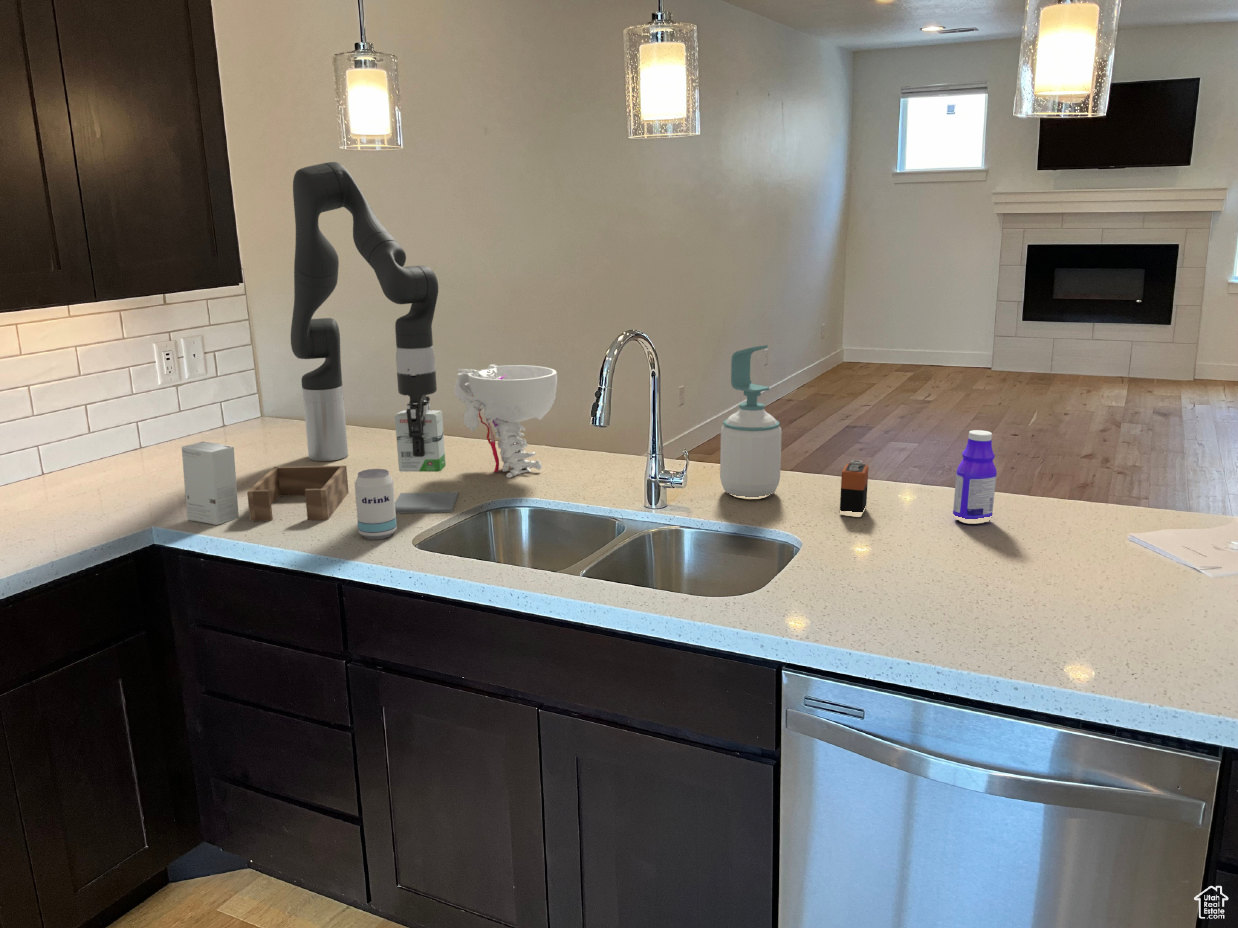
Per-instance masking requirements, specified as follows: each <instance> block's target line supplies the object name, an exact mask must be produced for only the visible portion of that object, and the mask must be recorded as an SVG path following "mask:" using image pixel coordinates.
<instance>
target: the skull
mask: <svg viewBox="0 0 1238 928" xmlns="http://www.w3.org/2000/svg"><path fill="white" fill-rule="evenodd" d="M457 372H458V373H456V377H457V378H456V381H455V383H454V388H453V389H454V390H453V391H454V396H455V397H456V398H458V400H459V401H460V402H461V403H463V404H465V408H466V409H465V412H464V413H463V423H464V426H466V427H468V428H469V430H470V432H474V431H476V430H477V429H478V427H479V425H480V423H481V424H482V425H484V426H485V427H486V428H487V433H486V440H487V442H488V444H489V445H490V447H491V450H492V451H491V452H492V455H493V459H494V462H495V467H494V473H495V472H499V469H500V459H501V462H502V463H503V464H502V472H503V473H506V472H507V471H508V473H507V474H506V475H505V476H506V478H512V477H517V476H519V475H520V474H522V473H523V474H524V473H528V472H529V473H531V472H532V470H531V468H533V469H536V470H539V471H541V470H542V469H543V466H542V463H541V462H540V460H539V459H536V460H535V461H534V460H527V459H529V458H531V457H535V456H536V452H535V451H532V452H526V450H525V449H526V448H527V447H528V446H529V445H528V444H529V443H527V439H526V438H522V437H523V436H524V437H525V433H524V432H525V431H526V428H525V426H524V425H522V424H521V423H520V422H524V421H528V420H530V419H537V420H540V421H541V420H542V419H543V418H544V417H545V416H546V415H547V413H548V412H549V411H550V410H551V408H552V406H554V402H555V399H556V397H557V396H556V395H557V387H558V372H557V370H555V369H553V368H550V367H546V366H539V365H538V366H537V365H517V364H515V365H514V364H513V365H497V364H489V365H488V367H487V368H485V369H478V370H476V369H474V368H464V369H463V368H457ZM481 411H483V415H484V418H485V420H486V423H485V422H484V421H483V417H482V416H481ZM478 419H480V423H479V420H478ZM490 422H491V423H492V424H493V427H492V426H491V423H490ZM492 428H493V429H492ZM493 431H494V433H495V435H494V433H493ZM521 431H523V432H521ZM496 439H499V440H498V441H497V447H498V449H500V451H499V455H500V458H499V456H498V450H497V447H496Z"/></svg>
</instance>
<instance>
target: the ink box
mask: <svg viewBox="0 0 1238 928" xmlns="http://www.w3.org/2000/svg"><path fill="white" fill-rule="evenodd" d="M406 411H407V409H406V410H405V409H404V410H401V411H399V412H397V413H396V414H394V424H395V436H396V449H397V461H398V462H397V463H398V471H399V472H400V473H401V472H410V473H411V472H419V473H420V472H427V473H428V472H433V473H434V472H438V473H439V472H442V471H443V469H444V468H446V451H445V449H446V448H445V439H444V438H445V435H444V421H443V411H442V410H441V409H440V410H433V409H432V410H431V409H430V410H429V411H428V412H427V413H426V414H423V415H425V416H426V426H425V427H424V434H425V436H424V447H425V455H424V456H423V457H415V456H414V455H413V443H412V438H411V437H409V429H408V419H407V413H406ZM423 415H422V418H421V422H422V421H423ZM414 431H419V428H418V427H414Z"/></svg>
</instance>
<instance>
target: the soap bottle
mask: <svg viewBox="0 0 1238 928" xmlns="http://www.w3.org/2000/svg"><path fill="white" fill-rule="evenodd" d="M768 348H769V346H768V344H766V345H758V346H752V347H748V348H744V349H741V350H738V351H735V352H733V354H732V356H731V367H730V371H731V372H730V375H731V376H730V377H731V378H730V383H731V386H732V388H733V389H734V390H736V391H737V390H738V391H743V396H746V401H745V402H741V403H739V406H738V410H737V411H736V412H734V413H732V414H731V415H730V416H728V418H726V419H724V421H723V422H722V426H721V429H720V454H719V455H720V456H719V457H720V461H719V463H720V465H719V468H720V469H719V471H720V472H719V478H720V483H721V487H722V488H723V490H724V491H725V492H726V494H728V493H729V494H732V495H736V496H745V497H759V496H765V495H769V494H771V493H773V494H775V493H774V492H776V491H777V489H778V487H779V483H780V479H781V468H782V467H781V464H782V463H781V462H782V461H781V460H782V435H783V434H782V432H783V431H782V427H781V426H780V425H781V422H780V421H778V420H777V419H776V418H775V417H774V416H773V415H771V414H770V413H768V412H767V411H766V410H765V407H766V406H765V404H764V403H763V402H758V397H759V396H761V394H762V392H766V391H770V386H765V385H760V384H754V383H753V382H752V380H751V358H752V354H753V353H754V352H757V351H761V350H764V349H768ZM729 494H728V495H729Z"/></svg>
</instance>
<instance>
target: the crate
mask: <svg viewBox="0 0 1238 928" xmlns="http://www.w3.org/2000/svg"><path fill="white" fill-rule="evenodd" d="M347 470H348V469H347V465H311V466H309V465H308V466H306V465H303V466H273V467H272V468H271V469H270V470H269V471H268V472H267V473H266V474H265V475H264V476H262V477H261V478H260V479H259V480H258V481H257V482H256V483H255V484H254V485H253V486H251V487H250V489H248V490H247V492H246V494H247V503H248V504H247V505H248V513H249V518H250V519H249V521H250V522H269V521H272V520H273V510H272V505H273V504H274V503H275V502H276V501H277V500H278V499H279V498H280V497H282V496H304V497H305V506H306V516H307V518H306V519H307V521H309V520H310V521H313V520H314V521H320V520H323V521H324V520H330V518H331V516H333V514H334V513H335V511H336V510H337V509H338V507H340V505H341V504H342V502H343V500H345V498H346V497H347V496H348V495H349V482H348V481H349V480H348V471H347Z"/></svg>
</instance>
